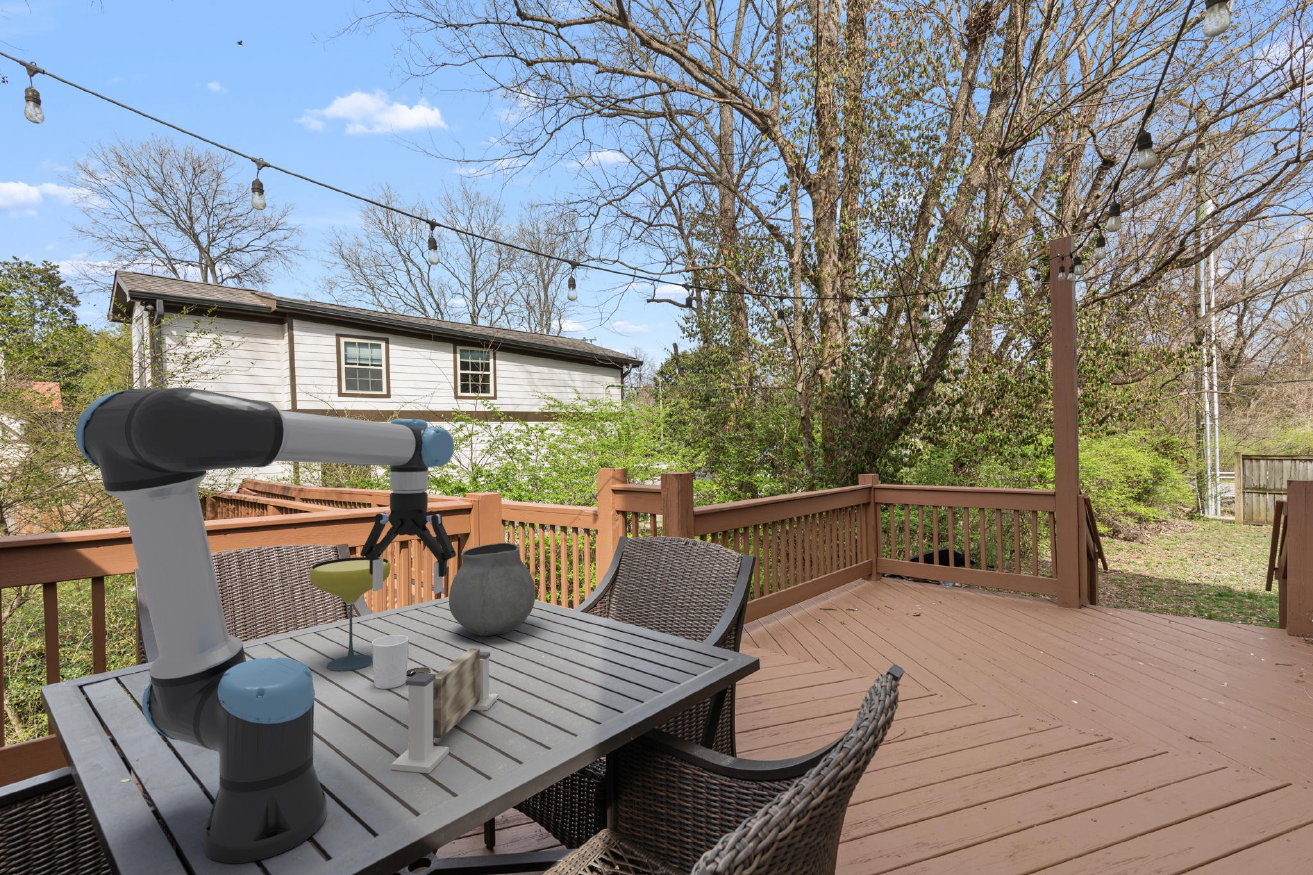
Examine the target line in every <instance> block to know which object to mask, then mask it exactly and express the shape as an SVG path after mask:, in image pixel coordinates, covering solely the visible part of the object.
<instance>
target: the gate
mask: <svg viewBox="0 0 1313 875" xmlns="http://www.w3.org/2000/svg"><path fill="white" fill-rule="evenodd" d="M480 652H481V650H480V648H474V647H473V648H472V647H471V648H469V649H468V650H466V651H465V652H464V653H463V654H461V655H460V656H458V657H457V658H456V659H455V660H453V661H452V662H451V663H449V664H448V665H447V666H445V667H444V668H442V670H440V671H438V673H435V674H436V679H434V680H433V746H435V745H434V744H435V743H434V742H435V741H434V740H435V739H442V738H443V737H444V736H446V735H447V733H449V732H450V730H451V729H453V728H454V726H456V725H457V723H459V722H460V721H461V720H462V719H463V718H464V717H465V716H467V714H468V713H469V712H470V711H471V709H472V708H473V707H474V706H475V705H476V704H477V703H478V702H479V701H480Z"/></svg>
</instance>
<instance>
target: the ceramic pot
mask: <svg viewBox="0 0 1313 875" xmlns="http://www.w3.org/2000/svg"><path fill="white" fill-rule="evenodd" d="M520 552H521V551H520V546H519V545H518V544H515V543H511V542H498V543H497V542H496V543H488V544H483V545H479V546H475V547H471V548H468V549H465V550H463V551H462V552H461V554H460V556H461V561H462V562H461V566H460V567H459V569H458V571H457V572H456V573H455V575H454V577H453V580H452V581H451V585H450V589H449V595H448V607H449V611H450V613H451V615H452V617H453V618H454V619H455V620H456V621H457V623H458V624H460V625H461V627H463V628H464V629H466V630H467V631H469V632H470V633H472V634H474V635H477V636H480V637H482V636H483V637H484V636H485V637H488V636H495V635H502V634H507V633H509V632H513V631H515V630H516V629H517V628H519V627H520V626H521V625H522V624H523V623H524V622H525V621H526V619H527V618H528V617H529V616H530V614H531V613H532V611H533V608H534V606H535V602H536V601H535V600H536V588H535V583H534V579H533V576H532V573H531V572H530V570H529V569H528V568H527V566H526V564H525V563H524V562H523V561H522V558H521V554H520Z"/></svg>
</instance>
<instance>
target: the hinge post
mask: <svg viewBox="0 0 1313 875" xmlns="http://www.w3.org/2000/svg"><path fill="white" fill-rule="evenodd" d="M436 674H437V673H424V672H416V673H415V674H413V675H412V676H410V677H409V678H408V679H407V678H406V682H405V686H408V690H407V692H408V694H407V695H408V696H407V697H408V707H407V708H408V710H407V712H408V715H407V716H408V717H407V718H408V725H407V726H408V727H407V729H408V730H407V731H408V732H407V735H408V737H407V739H408V745H407V746H408V748H407V749H406V750H405V751H404V752H402V754H401V755H399V756H398V757H397V758H396V759H395V760H394V761H393V762H392V763H391V765H390V767H391V768H390V770H392V771H401V772H409V773H410V772H411V773H422V774H430V773H431V772H432V771H433V770H434V769H435V768H436V767H437V765H439V764H440V763H441V762H442V761H443V759H445V758H446V757H447V755H449V753H450V747H448V746H439V745H433V680H434V679H436Z"/></svg>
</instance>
